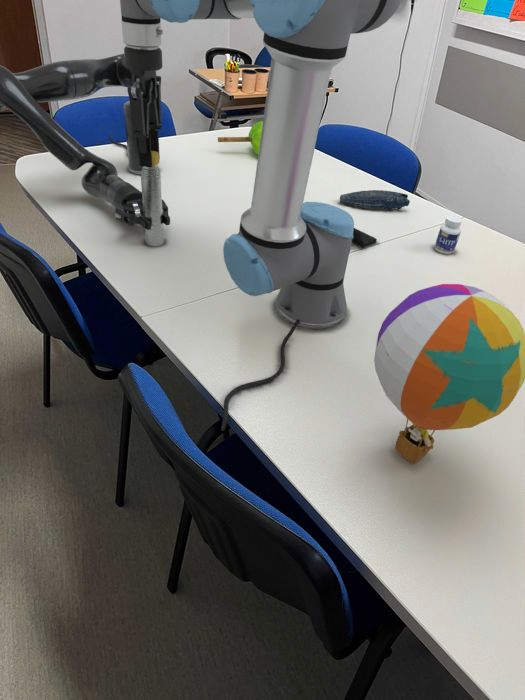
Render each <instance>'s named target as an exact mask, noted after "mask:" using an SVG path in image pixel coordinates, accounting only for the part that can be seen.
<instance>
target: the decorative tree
mask: <svg viewBox="0 0 525 700" xmlns="http://www.w3.org/2000/svg"><path fill="white" fill-rule="evenodd" d="M262 125H263V120H260V121H258V122H256V123H254V124H252V125H251V128H250V130H249V133H248V136H218V137H217V143H250V144H251V147H252V149H253V151H254V153H255V155H257V156H258V154H259V147H260V140H261V132H262Z"/></svg>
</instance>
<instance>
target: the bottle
mask: <svg viewBox="0 0 525 700" xmlns="http://www.w3.org/2000/svg"><path fill="white" fill-rule="evenodd" d="M161 177H162V176H161V173H160V171H159V166H158V167H157V165H152V167H143V169H142V172H141V175H140V183H141V192H142V199H143V213H144V217H145V218H146V219H147V220H149V221H150V223H151V230H147V229H144V237H145V244H146V245H147V246H150V247H160V246H163V245H164V243H165V239H164V238H165V237H164V223H163V214H162V200H163V198H162V197H163V194H162V178H161Z"/></svg>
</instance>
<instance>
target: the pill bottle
mask: <svg viewBox="0 0 525 700" xmlns="http://www.w3.org/2000/svg"><path fill="white" fill-rule="evenodd" d="M462 222H463V219H461V218H460V217H458V216H455V215H448V216H446V218H445V220H444V223H443V224H442V225H440V228H439V231H438V234H437V237H436V240H435V243H434V250H435V251H437V252H439V253H441V254H447V255H449V254H453V253H454V252H455V250H456V247H457V244H458V242H459V239H460V236H461V233H462V229H461V225H462Z"/></svg>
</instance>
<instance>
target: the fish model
mask: <svg viewBox="0 0 525 700" xmlns="http://www.w3.org/2000/svg"><path fill="white" fill-rule="evenodd" d="M410 202H411V201H410V200H409V195H408V194H406V193H403V192H402V193H401V192H399V191H392V190H382V189H380V190H379V189H377V190H376V189H368V190H360V191H352V192H348V193H344V194H341V195H340V196H339V203H343V204H346V205H349V206H351V207H357V208H362V209H371V210H372V209H374V210H384V211H385V210H386V211H391V210H394V209H397V210H402V208H404V207H408V206H409V205H410Z"/></svg>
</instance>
